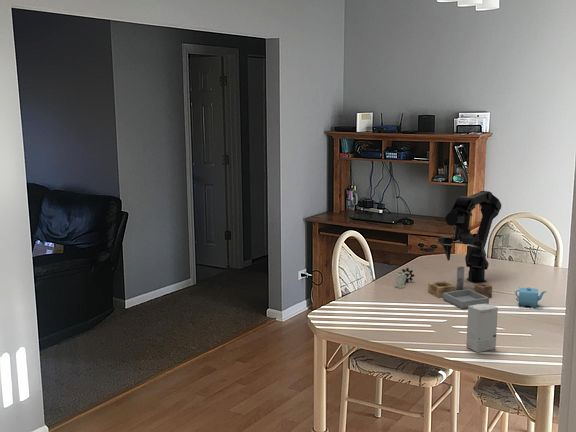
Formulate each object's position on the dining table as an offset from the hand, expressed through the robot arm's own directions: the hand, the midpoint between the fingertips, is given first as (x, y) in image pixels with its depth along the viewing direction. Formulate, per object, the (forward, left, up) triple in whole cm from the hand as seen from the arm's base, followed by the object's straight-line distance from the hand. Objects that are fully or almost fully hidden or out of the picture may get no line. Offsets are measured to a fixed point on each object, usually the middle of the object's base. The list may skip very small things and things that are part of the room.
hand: (458, 261), depth 278 cm
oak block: (+10, +2, -13) cm, 16 cm away
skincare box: (+32, +57, -13) cm, 67 cm away
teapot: (-14, +29, -13) cm, 35 cm away
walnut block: (-4, +12, -13) cm, 18 cm away
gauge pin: (-1, 0, -13) cm, 13 cm away
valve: (+18, -15, -13) cm, 27 cm away
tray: (+7, +16, -13) cm, 22 cm away
